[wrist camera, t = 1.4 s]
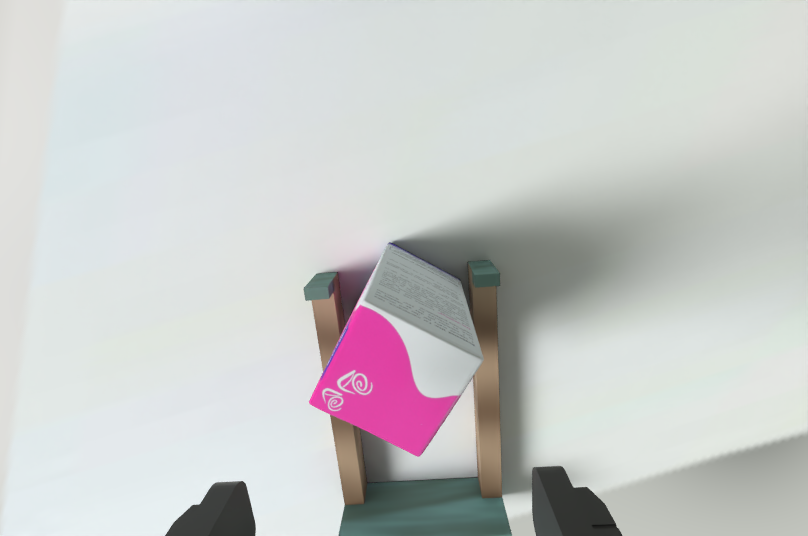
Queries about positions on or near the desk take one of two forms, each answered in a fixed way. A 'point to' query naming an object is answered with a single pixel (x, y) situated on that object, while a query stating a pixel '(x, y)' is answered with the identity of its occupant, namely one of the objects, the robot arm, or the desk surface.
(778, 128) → the desk surface
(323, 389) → the supplement box
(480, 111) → the desk surface
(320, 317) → the guide lane
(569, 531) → the robot arm
